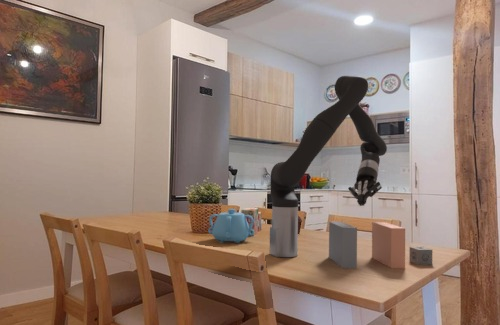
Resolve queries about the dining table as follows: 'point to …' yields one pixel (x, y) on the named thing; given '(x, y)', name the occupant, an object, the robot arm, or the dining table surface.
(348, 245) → the slate slab
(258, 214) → the stack of blocks
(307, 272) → the dining table surface
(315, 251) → the dining table surface
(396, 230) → the terracotta slab
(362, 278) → the dining table surface
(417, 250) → the dice cube
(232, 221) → the decorative pot
